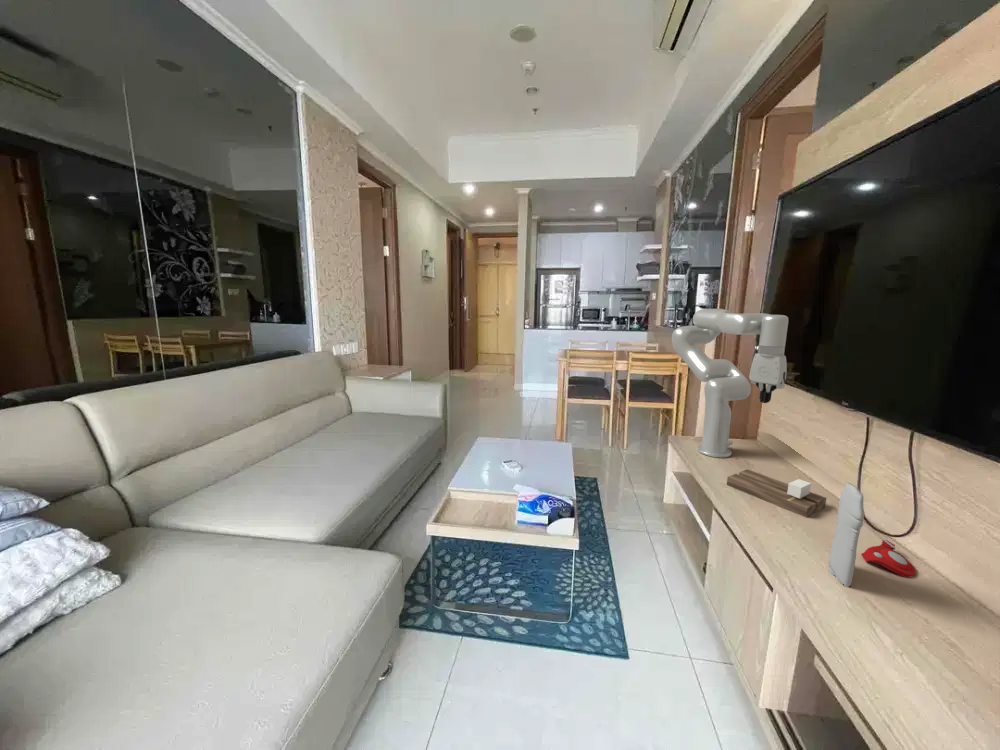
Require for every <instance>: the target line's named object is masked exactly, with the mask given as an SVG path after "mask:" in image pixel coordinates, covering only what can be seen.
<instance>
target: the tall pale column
mask: <svg viewBox="0 0 1000 750" xmlns="http://www.w3.org/2000/svg"><path fill="white" fill-rule="evenodd" d="M837 510H838V512H837V520H836V526H835V532H834V534H833V537H832V538H833V539H832V542H831V549H830V554H829V559H828V564H830V565H829V566H828V572H829V573H830V574H831V573H832V574H833V576H834V575H835V576H836V577H837V578H838V579H837V578H836V577H835V576H834V577H835V578H836V579H837V580H839V581H840V582H841V583H842V584H844V585H846V586H850V585H852V583H853V576H854V572H855V571H854V569H855V567H856V566H855V565H856V559H857V548H858V541H859V538H860V537H859V536H860V533H861V529H862V527H863V525H864V524H863V523H864V519H865V510H864V494H863V493H862V491H861V490H860V489H859V488H858V487H857V486H855V485H853V484H852V483H850V482H846V484H845V486H844V489H843V491H842V492H841V493H840V497H839V503H838V509H837ZM832 574H831V575H832ZM839 581H838V582H839ZM840 582H839V583H840ZM841 583H840V584H841ZM842 584H841V585H842ZM844 585H843V586H844ZM846 586H845V587H846ZM850 587H851V586H850Z"/></svg>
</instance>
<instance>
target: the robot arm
mask: <svg viewBox="0 0 1000 750" xmlns="http://www.w3.org/2000/svg"><path fill="white" fill-rule="evenodd" d="M692 323H693V325H684V326H680V327H677V328H675V329H674V331H673V332H672V335H671V344H672V347H673V350H674V351H675V352H676V354H677V355H678V356H679V357H680V358H681V359H682V360H683V362H684V363H685V364H686V365H687V366H688V368H689V369H690V371H691V372H692V373H693V375H695V377H696V378H697V379H698V380H699V381H700V382H702V383H705V384H704V389H703V391H704V392H703V393H704V399H705V401H704V403H705V407H704V419H703V428H702V438H701V444H699V445H697V447H696V448H697V451H698V452H699V453H700V454H703V455H704V456H708V457H711V458H712V457H713V458H719V459H720V458H721V459H722V458H723V459H725V458H729V457H731V456H732V451H731V449H729V446H731V445H733V444H734V443H733V441H732V440H731V439H730V438H729V437H730V431H731V430H730V429H731V420H732V410H731V409H732V408H731V407H730V405H729V401H739V400H745V399H747V398H748V397H749V396H750V394H751V393H752V392H751V391H752V389H751V388H752V386H751V384H753V385H754V386H756V387H757V388H758V390H759V402H760V403H763V404H767V403H770V402H771V401H772V400H771V399H772V392H774V391H775V390H780V389H785V383H786V380H787V371H788V369H787V368H788V367H787V365H788V364H787V356H786V355H785V349H786V342H787V335H788V334H787V333H788V327H789V317H788V316H787V315H784V314H769V313H764V312H763V313H762V312H760V313H759V312H757V313H756V312H755V313H753V312H751V313H749V312H748V313H746V312H745V313H734V312H732V310H729V309H724V308H703V309H699V310H697V311H696V312H695V313H694V314H693V317H692ZM721 333H724V334H727V335H728V334H730V335H740V336H741V335H742V336H744V335H746V336H747V335H759V339H758V340H759V343H758V345H755V346H754V350H756V351H757V352H756V353H754V356H753V360H752V362H751V366H750V370H749V376H748V377H749V380H750V381H749V380H748V379H747V377H745V375H744V374H743V373H742V371H740V370H739V369H738V368H737V366H736V365H735V364H734V363H733V362H732V361H730V360H728V359H726V358H725V359H723V358H720V359H719V358H716V359H714V358H710V357H709V356H708V355H707V354H706V352H704V351H703V350H702V349H701V348H700V347H698V346H696V345H708V344H710V343H712V342H713V341H714V340H715V339H716V338H717V337H718V336H719V335H720V334H721Z"/></svg>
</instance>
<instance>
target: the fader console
mask: <svg viewBox="0 0 1000 750" xmlns="http://www.w3.org/2000/svg"><path fill="white" fill-rule="evenodd" d="M788 484H789V483H787V482H784V481H782V480H779V479H776V478H773V477H771V476H767V475H764V474H762V473H759V472H756V471H754V470H750V469H748V468H746V469H744V470H742V471H740V472H738V473H734V474H731V475H729V476H727V478H726V486H728V487H730V488H734V489H736V490H738V491H741V492H743V493H746V494H748V495H751V496H753V497H755V498H758V499H760V500H763V501H765V502H768V503H770V504H773V505H775V506H778V507H780V508H782V509H784V510H786V511H790V512H792V513H795V514H797V515H800V516H802V517H805V518H807V517H809V516H812V515H813V514H815V513H816V512H819V511H820V510H821V509H823V508H826V504H827V497H826V496H823V495H820V494H818V493H815V492H812V491H810V494H808V495H806V496H804V497H802V498H797V497H794V496H792V495H789V494H787V491H788Z"/></svg>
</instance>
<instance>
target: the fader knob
mask: <svg viewBox="0 0 1000 750" xmlns="http://www.w3.org/2000/svg"><path fill="white" fill-rule="evenodd" d="M787 484H788V491H787V494H789V495H792V496H794V497H797V498H802V497H804V496H806V495H808V494H810V492H811V486H812V483H811V482H809V481H805V480H803V479H800V478H797V479H796V480H793V481H791V482H789V483H787Z"/></svg>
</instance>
